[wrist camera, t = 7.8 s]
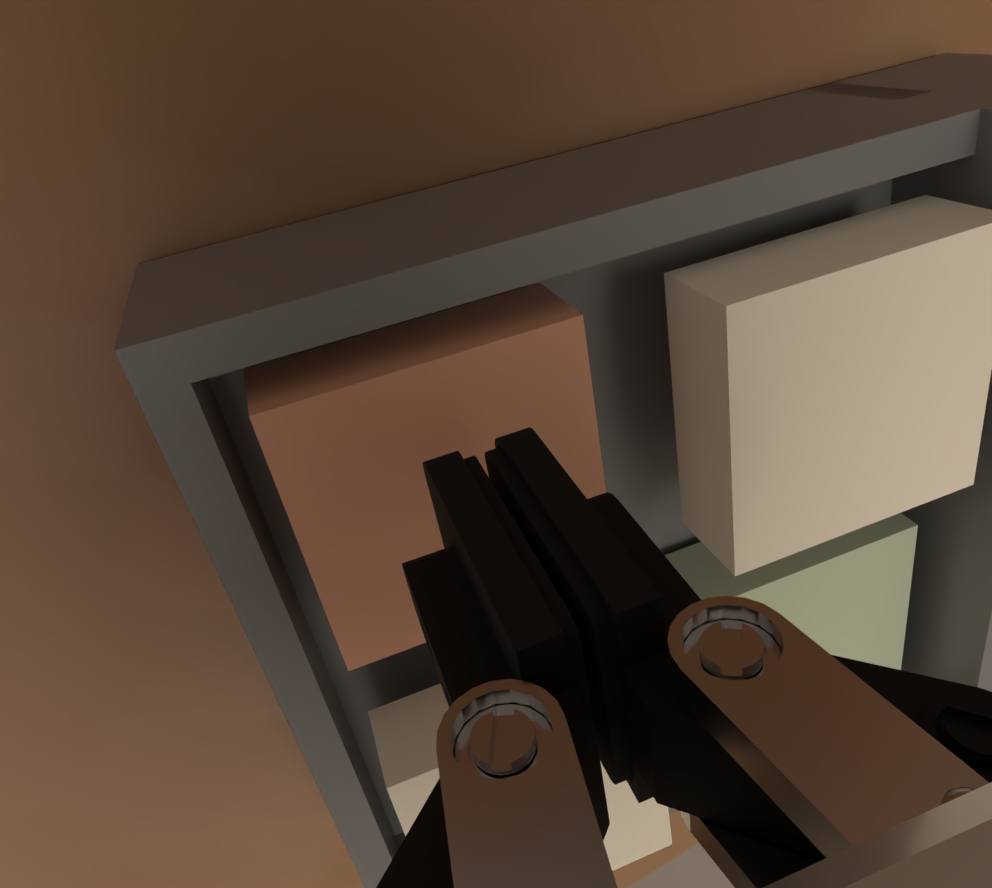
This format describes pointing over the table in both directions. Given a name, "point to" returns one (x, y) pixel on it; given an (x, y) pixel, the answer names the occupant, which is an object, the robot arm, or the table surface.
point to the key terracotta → (413, 441)
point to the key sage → (828, 588)
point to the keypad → (610, 343)
